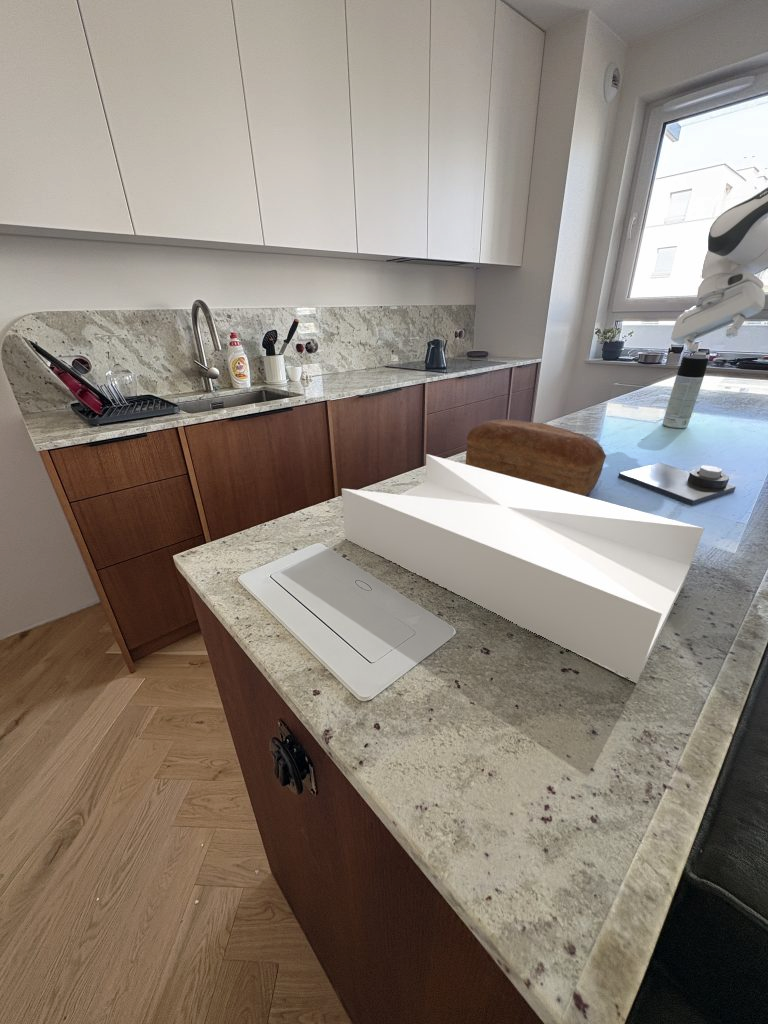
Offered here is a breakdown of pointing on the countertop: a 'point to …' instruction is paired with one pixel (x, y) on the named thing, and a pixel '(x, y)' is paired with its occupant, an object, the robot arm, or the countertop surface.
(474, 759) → the countertop surface
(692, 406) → the spray can
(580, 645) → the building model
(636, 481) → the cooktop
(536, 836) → the countertop surface
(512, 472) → the bread
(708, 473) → the power button
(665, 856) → the countertop surface
